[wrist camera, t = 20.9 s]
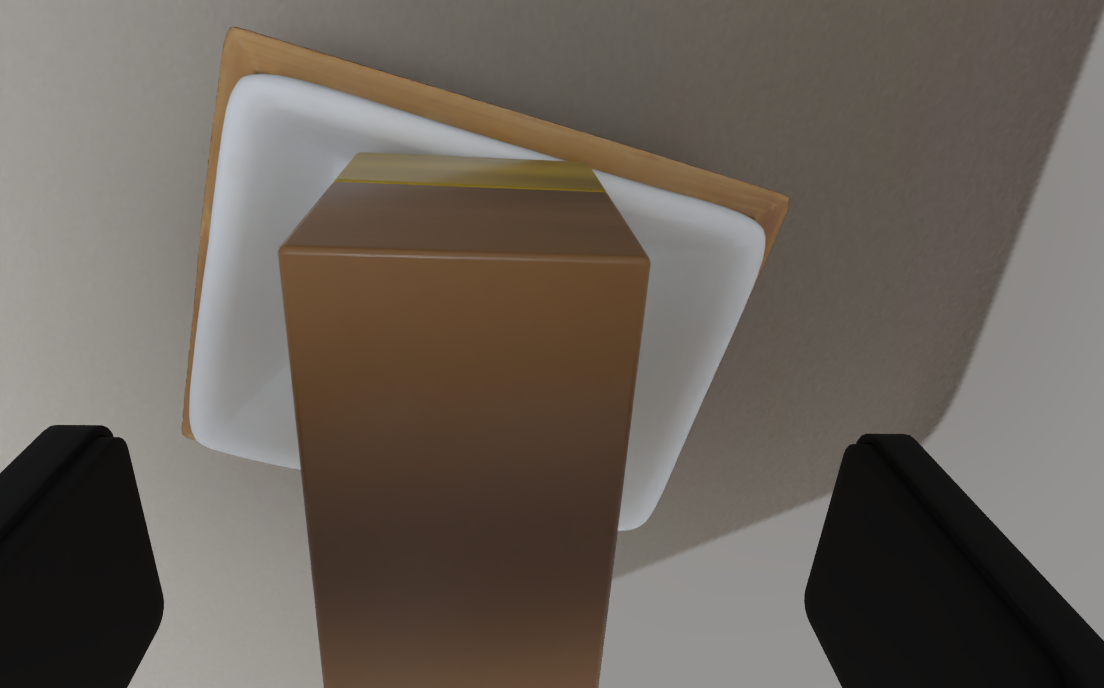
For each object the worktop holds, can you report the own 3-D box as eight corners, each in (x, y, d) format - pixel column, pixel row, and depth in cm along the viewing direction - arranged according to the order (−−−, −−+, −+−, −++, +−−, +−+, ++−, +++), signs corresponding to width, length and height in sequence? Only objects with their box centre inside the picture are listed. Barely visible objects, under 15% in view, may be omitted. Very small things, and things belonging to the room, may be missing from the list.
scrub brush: (356, 151, 14) (274, 246, 8) (588, 161, 14) (652, 257, 9) (374, 492, 17) (325, 717, 12) (562, 491, 18) (597, 707, 12)
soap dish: (741, 163, 20) (820, 212, 15) (623, 455, 24) (658, 564, 19) (272, 18, 17) (196, 23, 13) (225, 371, 21) (154, 474, 16)
